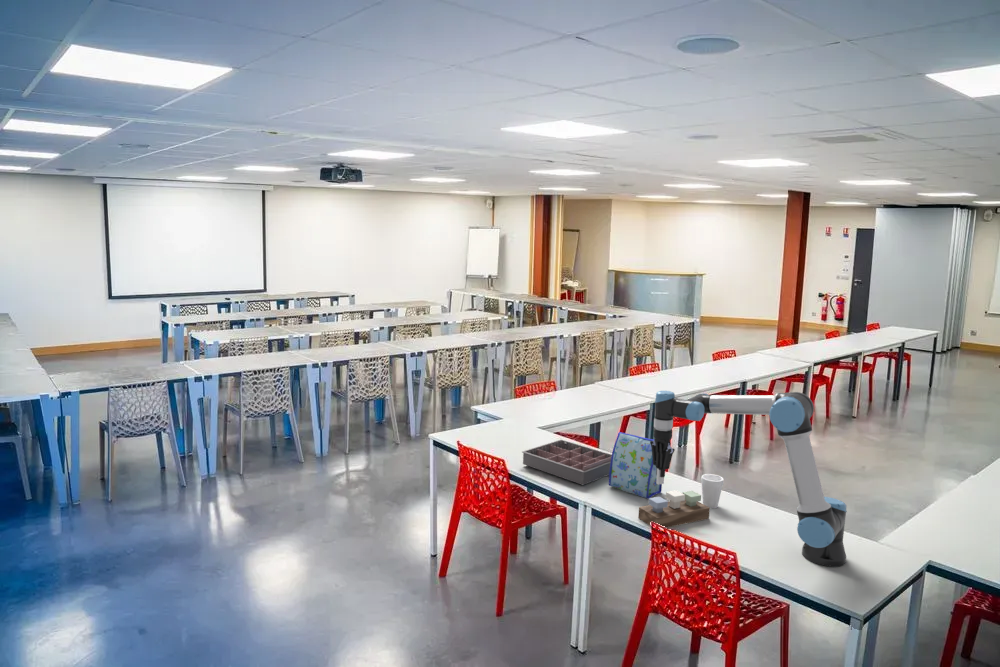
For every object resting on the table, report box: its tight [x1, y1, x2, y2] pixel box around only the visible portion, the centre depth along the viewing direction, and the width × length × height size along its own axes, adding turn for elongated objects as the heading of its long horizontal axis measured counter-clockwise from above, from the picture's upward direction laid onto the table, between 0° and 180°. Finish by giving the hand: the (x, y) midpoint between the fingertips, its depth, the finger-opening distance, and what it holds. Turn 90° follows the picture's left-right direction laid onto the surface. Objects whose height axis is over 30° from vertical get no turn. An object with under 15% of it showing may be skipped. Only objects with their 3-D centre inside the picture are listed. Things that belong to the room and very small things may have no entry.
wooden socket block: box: [637, 500, 711, 528], centre depth 289 cm, size 12×28×5 cm, turn 116°
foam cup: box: [700, 473, 725, 509], centre depth 303 cm, size 10×9×13 cm
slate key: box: [648, 496, 669, 513], centre depth 284 cm, size 6×6×6 cm
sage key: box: [681, 490, 702, 507], centre depth 292 cm, size 6×6×6 cm
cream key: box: [665, 489, 685, 509], centre depth 288 cm, size 6×6×6 cm
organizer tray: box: [521, 439, 612, 486], centre depth 345 cm, size 32×40×10 cm
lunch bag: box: [608, 431, 663, 500], centre depth 319 cm, size 22×17×26 cm
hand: (659, 483), depth 282 cm, fingers closed
